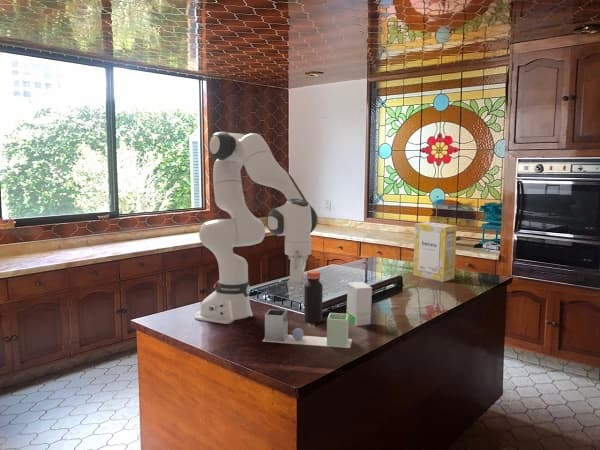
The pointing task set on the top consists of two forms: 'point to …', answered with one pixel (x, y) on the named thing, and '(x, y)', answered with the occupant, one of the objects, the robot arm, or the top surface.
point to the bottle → (313, 298)
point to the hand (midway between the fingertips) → (297, 289)
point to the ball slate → (297, 333)
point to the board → (310, 341)
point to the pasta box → (435, 251)
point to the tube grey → (276, 325)
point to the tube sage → (337, 329)
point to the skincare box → (359, 303)
